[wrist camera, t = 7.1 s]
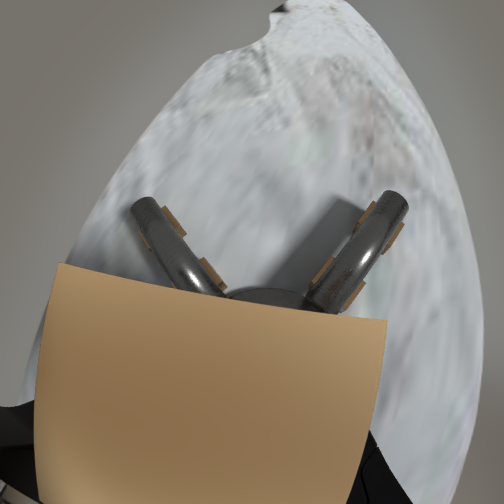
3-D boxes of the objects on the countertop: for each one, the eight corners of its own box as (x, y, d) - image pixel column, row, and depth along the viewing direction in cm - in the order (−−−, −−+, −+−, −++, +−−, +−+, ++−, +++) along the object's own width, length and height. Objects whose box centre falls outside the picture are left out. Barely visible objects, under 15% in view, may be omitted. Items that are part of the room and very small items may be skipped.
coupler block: (293, 423, 13) (303, 598, 1) (209, 407, 14) (36, 500, 2) (308, 342, 14) (396, 312, 3) (225, 329, 15) (57, 254, 4)
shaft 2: (330, 326, 20) (341, 320, 16) (298, 300, 21) (301, 288, 17) (398, 231, 22) (417, 207, 18) (369, 209, 23) (382, 181, 19)
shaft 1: (238, 299, 22) (226, 287, 18) (205, 325, 21) (186, 318, 17) (171, 213, 25) (152, 188, 21) (144, 235, 25) (121, 214, 21)
